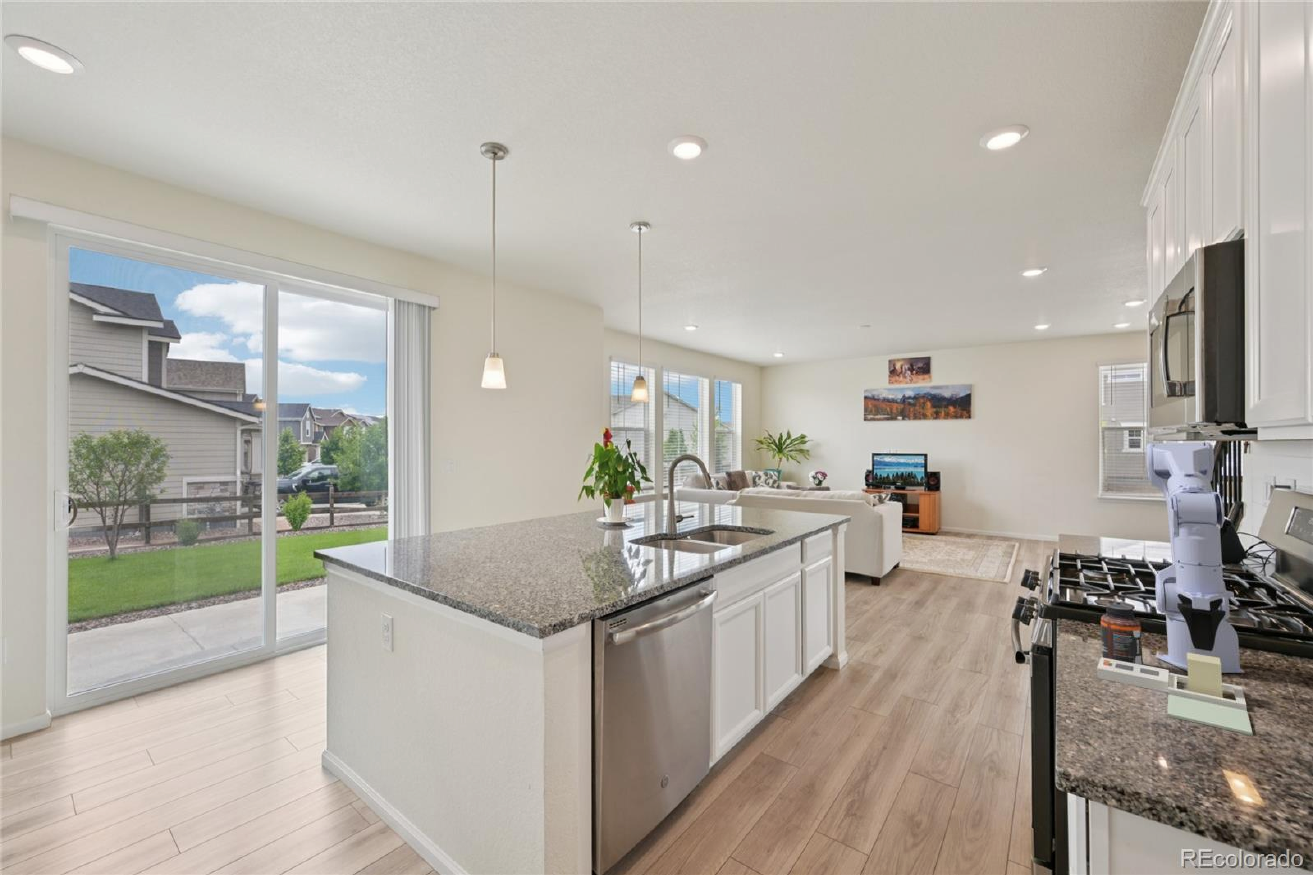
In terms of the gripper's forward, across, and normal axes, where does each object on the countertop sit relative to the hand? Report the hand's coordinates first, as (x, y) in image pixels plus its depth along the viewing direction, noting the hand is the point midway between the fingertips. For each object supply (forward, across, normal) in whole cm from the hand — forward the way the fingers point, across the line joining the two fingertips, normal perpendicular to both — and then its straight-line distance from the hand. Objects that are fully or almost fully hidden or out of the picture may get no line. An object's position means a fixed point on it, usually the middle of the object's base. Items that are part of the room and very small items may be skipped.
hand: (1202, 643), depth 92 cm
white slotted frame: (+8, 0, +5) cm, 10 cm away
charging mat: (+8, -10, 0) cm, 13 cm away
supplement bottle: (+9, +7, +11) cm, 16 cm away
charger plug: (+8, 0, 0) cm, 9 cm away
